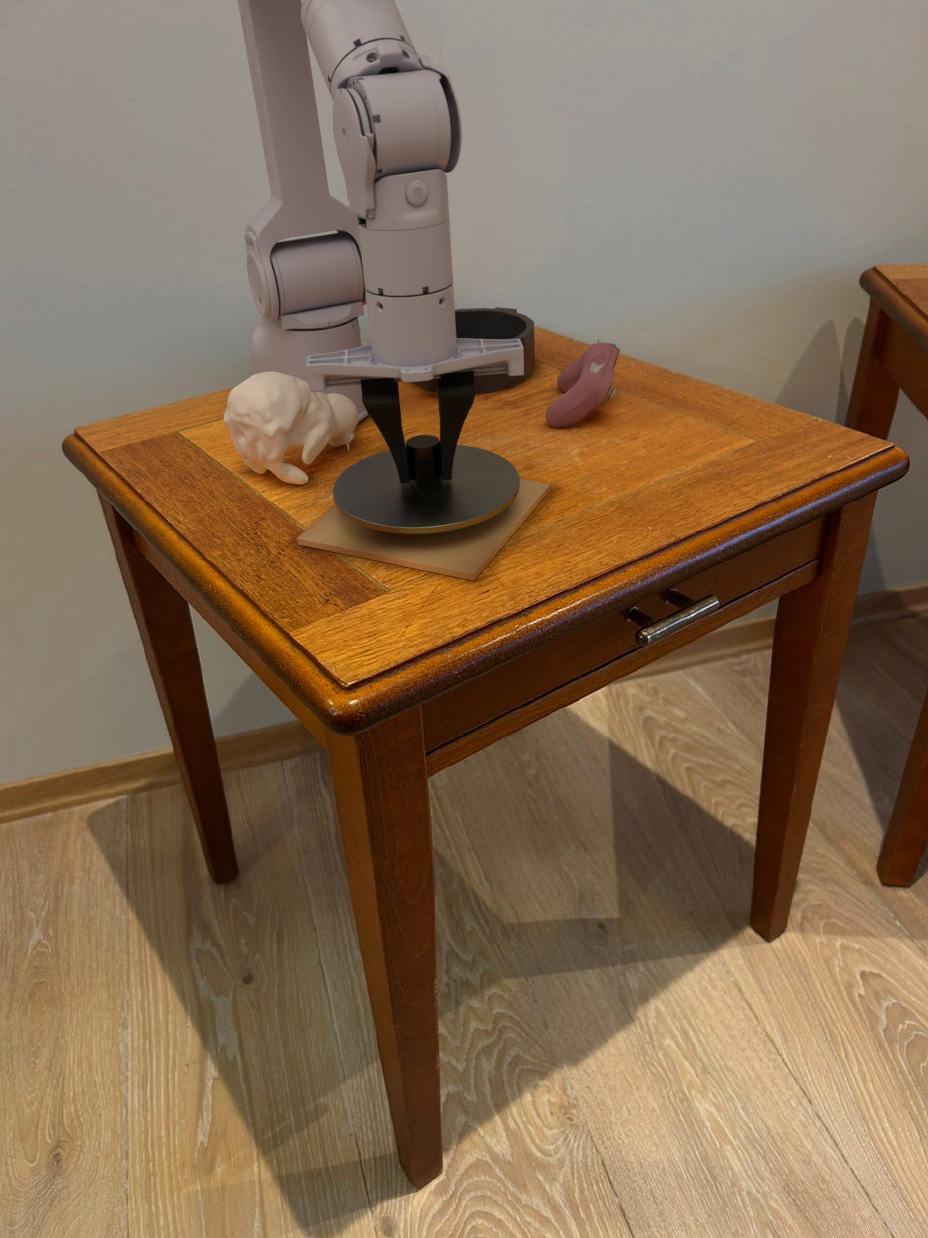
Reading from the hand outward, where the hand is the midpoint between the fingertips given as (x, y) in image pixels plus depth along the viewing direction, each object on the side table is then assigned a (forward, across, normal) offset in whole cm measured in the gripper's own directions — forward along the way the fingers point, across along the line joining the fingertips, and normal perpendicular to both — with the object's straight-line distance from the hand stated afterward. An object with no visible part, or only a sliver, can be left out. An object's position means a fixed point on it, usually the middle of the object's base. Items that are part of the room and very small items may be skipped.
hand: (425, 476), depth 70 cm
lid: (+1, 0, 0) cm, 1 cm away
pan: (+3, +6, +30) cm, 31 cm away
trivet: (+3, 0, 0) cm, 3 cm away
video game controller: (+3, +15, +18) cm, 24 cm away
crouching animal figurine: (+3, -10, +11) cm, 15 cm away
